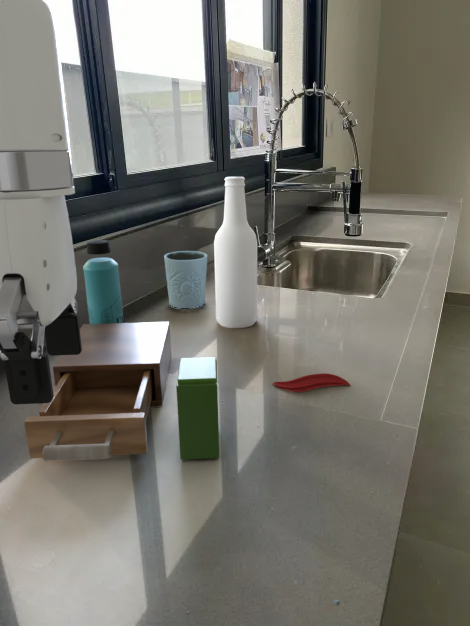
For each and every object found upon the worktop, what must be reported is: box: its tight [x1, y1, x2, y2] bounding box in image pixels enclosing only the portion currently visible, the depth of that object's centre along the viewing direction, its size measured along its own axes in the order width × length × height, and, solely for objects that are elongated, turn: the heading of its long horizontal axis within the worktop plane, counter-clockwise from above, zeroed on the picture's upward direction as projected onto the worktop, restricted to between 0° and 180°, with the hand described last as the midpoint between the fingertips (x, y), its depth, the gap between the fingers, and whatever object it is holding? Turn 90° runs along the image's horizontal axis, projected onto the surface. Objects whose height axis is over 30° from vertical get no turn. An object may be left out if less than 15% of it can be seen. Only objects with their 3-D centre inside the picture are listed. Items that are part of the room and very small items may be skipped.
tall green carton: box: [175, 356, 220, 460], centre depth 61 cm, size 5×8×10 cm, turn 3°
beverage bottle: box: [82, 239, 126, 324], centre depth 92 cm, size 6×7×20 cm
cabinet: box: [52, 321, 172, 408], centre depth 79 cm, size 18×15×7 cm
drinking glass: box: [163, 250, 208, 310], centre depth 117 cm, size 10×10×12 cm
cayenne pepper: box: [272, 372, 351, 393], centre depth 77 cm, size 12×5×2 cm, turn 81°
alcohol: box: [213, 176, 258, 329], centre depth 101 cm, size 9×9×30 cm
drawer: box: [23, 369, 154, 462], centre depth 63 cm, size 21×14×5 cm, turn 3°
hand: (50, 375), depth 44 cm, fingers open, 9 cm apart
